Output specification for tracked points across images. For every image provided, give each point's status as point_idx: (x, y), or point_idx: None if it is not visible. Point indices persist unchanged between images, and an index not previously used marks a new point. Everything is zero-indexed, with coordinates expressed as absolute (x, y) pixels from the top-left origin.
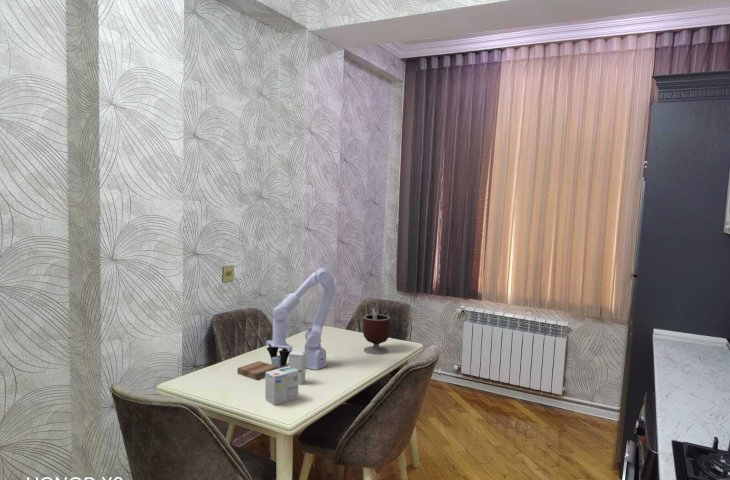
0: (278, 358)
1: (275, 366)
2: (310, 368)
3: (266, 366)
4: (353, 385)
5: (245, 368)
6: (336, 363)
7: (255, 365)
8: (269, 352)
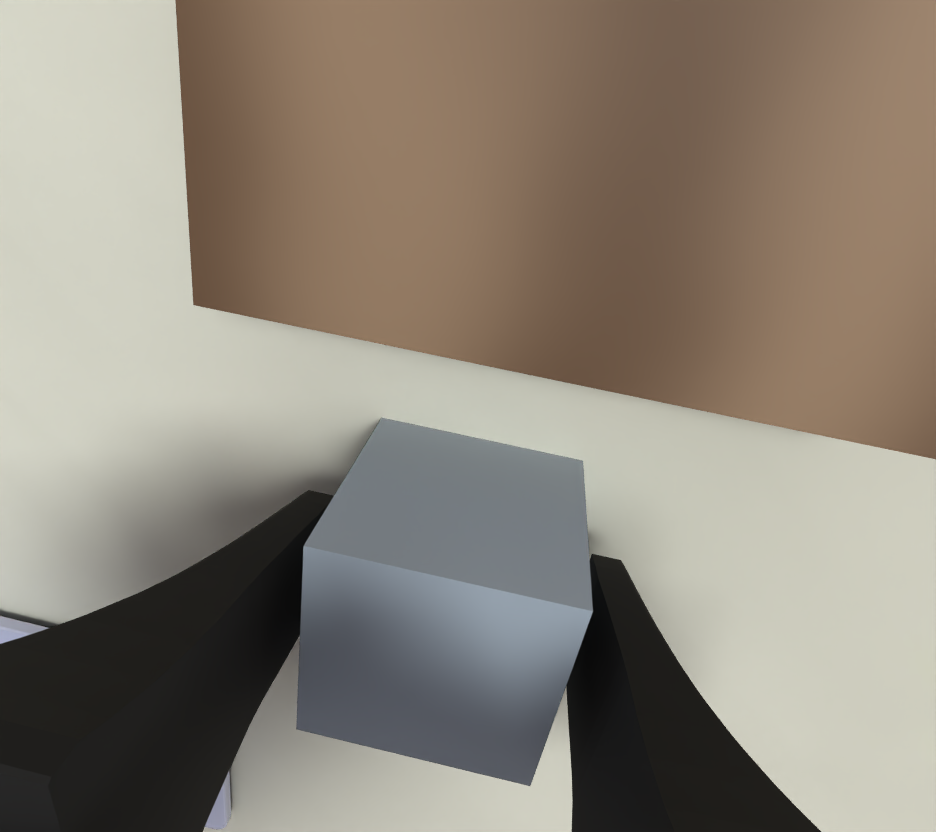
0: (377, 613)
1: (270, 292)
2: (14, 621)
3: (474, 157)
4: None
5: None
6: None
7: (892, 33)
8: (733, 774)
